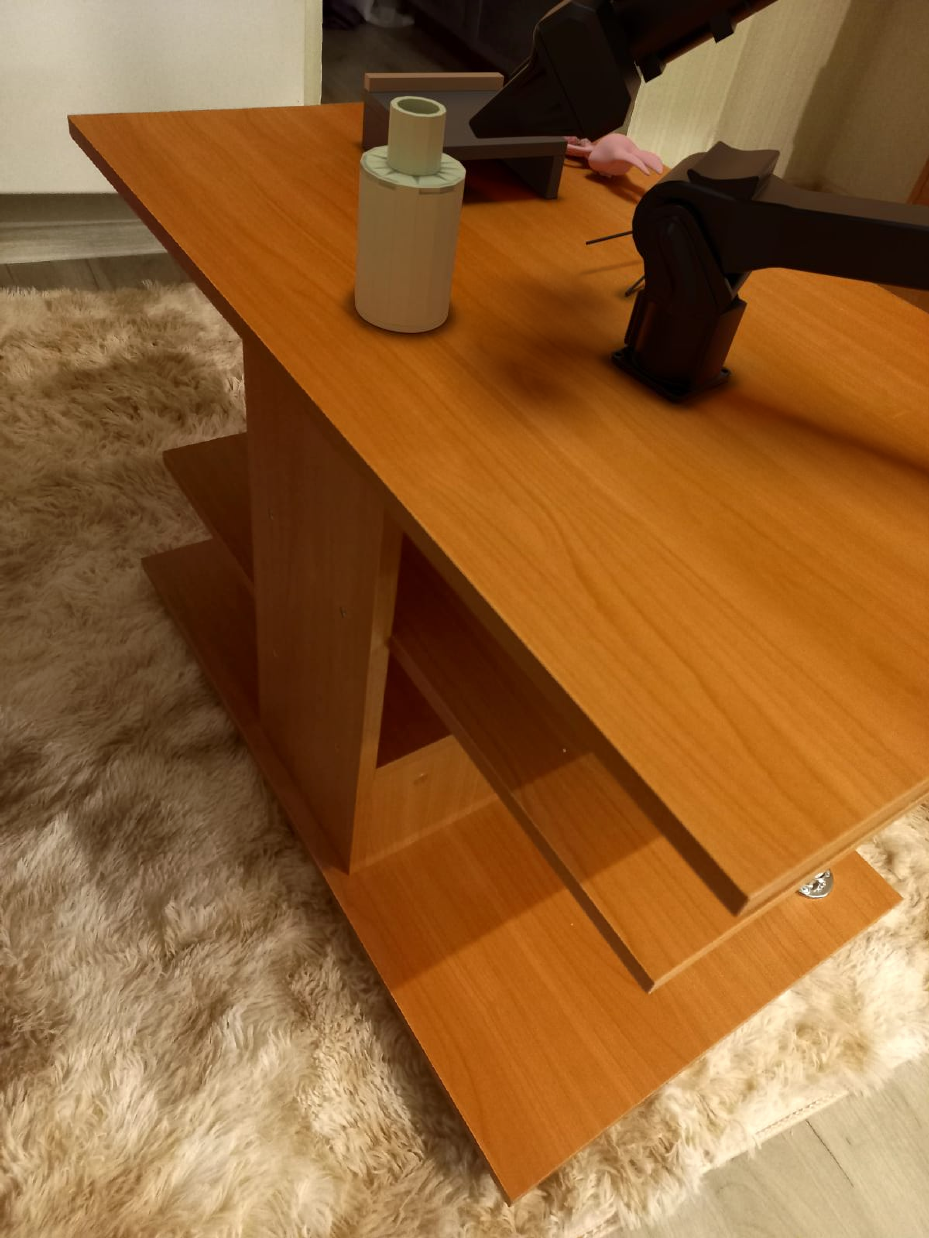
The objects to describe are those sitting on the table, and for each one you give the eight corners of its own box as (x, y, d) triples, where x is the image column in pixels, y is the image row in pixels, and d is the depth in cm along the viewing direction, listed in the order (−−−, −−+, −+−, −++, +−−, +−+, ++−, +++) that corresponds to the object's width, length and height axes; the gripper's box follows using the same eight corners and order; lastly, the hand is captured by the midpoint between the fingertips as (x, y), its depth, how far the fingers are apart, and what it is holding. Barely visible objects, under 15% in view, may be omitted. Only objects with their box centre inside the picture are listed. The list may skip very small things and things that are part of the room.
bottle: (466, 319, 64) (495, 119, 54) (393, 342, 61) (410, 133, 51) (409, 278, 67) (426, 82, 57) (336, 298, 64) (341, 93, 54)
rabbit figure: (535, 161, 91) (626, 197, 81) (541, 95, 87) (637, 124, 77) (583, 157, 93) (677, 191, 84) (591, 93, 90) (690, 121, 80)
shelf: (557, 198, 82) (571, 126, 77) (421, 208, 76) (428, 131, 72) (489, 140, 89) (498, 72, 85) (361, 145, 84) (364, 73, 79)
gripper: (701, -233, 48) (471, -60, 57) (651, -214, 36) (367, 4, 45) (767, -18, 54) (549, 110, 63) (743, 62, 42) (475, 208, 50)
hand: (493, 106), depth 55 cm, fingers open, 9 cm apart
